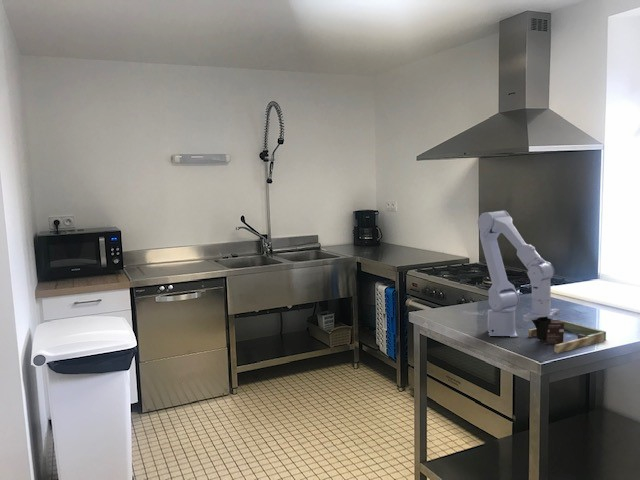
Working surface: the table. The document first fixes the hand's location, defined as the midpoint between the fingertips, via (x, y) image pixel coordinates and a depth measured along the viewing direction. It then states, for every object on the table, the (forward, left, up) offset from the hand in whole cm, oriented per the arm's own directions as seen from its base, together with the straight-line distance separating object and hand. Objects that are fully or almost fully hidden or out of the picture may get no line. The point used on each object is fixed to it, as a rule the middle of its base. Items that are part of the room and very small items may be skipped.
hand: (541, 339), depth 174 cm
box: (+3, +4, -2) cm, 5 cm away
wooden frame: (+6, +6, -2) cm, 9 cm away
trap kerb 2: (+13, +3, -2) cm, 13 cm away
